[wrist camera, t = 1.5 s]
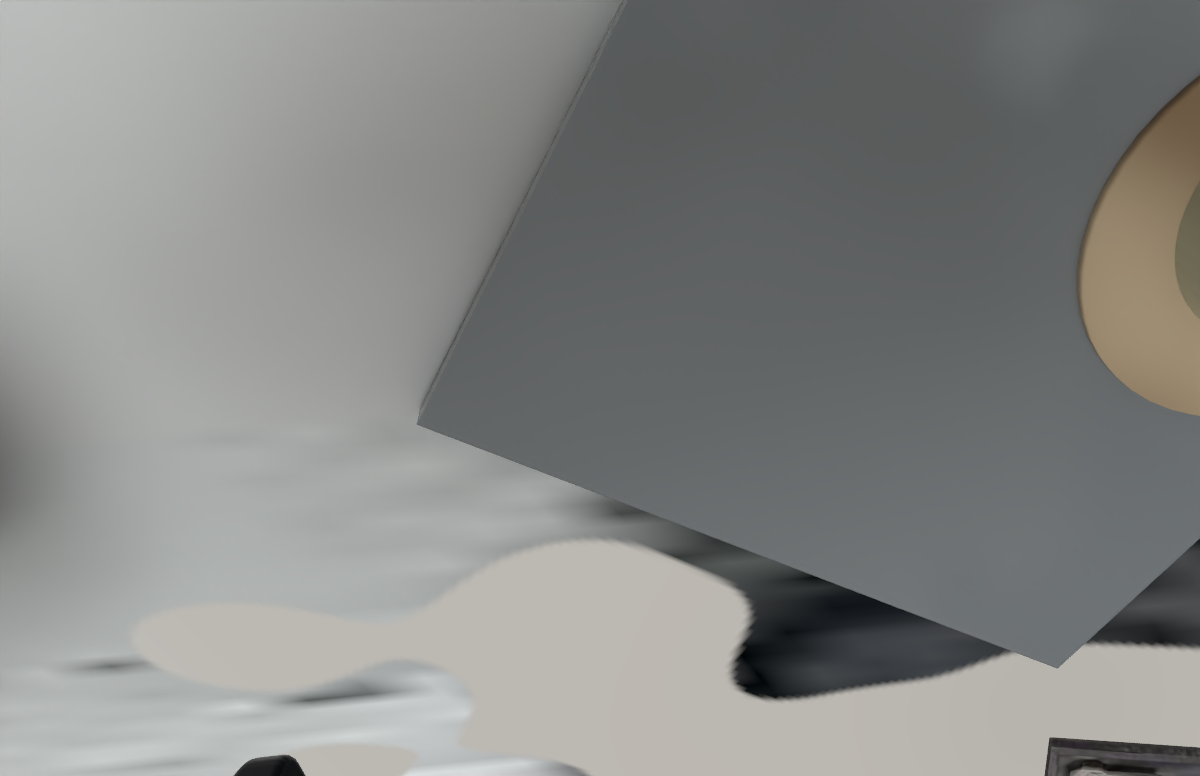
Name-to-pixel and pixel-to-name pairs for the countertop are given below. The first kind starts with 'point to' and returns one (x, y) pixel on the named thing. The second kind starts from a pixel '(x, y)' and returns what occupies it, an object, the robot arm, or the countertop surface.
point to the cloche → (1189, 253)
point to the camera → (1119, 759)
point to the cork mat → (1146, 261)
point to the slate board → (848, 301)
